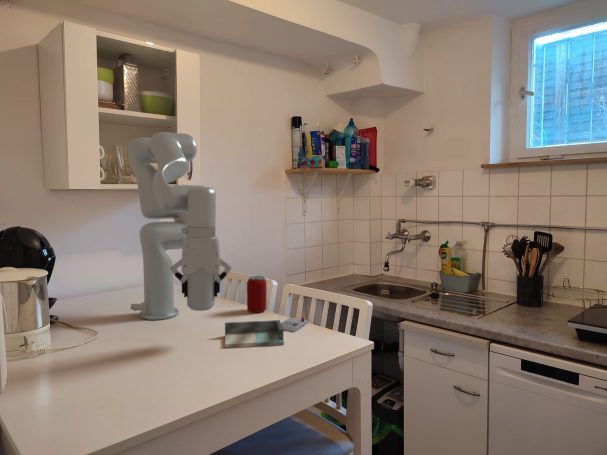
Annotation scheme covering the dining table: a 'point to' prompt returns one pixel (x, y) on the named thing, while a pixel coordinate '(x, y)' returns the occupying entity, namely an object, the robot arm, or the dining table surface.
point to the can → (200, 290)
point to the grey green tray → (253, 333)
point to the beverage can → (256, 294)
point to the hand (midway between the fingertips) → (201, 295)
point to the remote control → (294, 324)
